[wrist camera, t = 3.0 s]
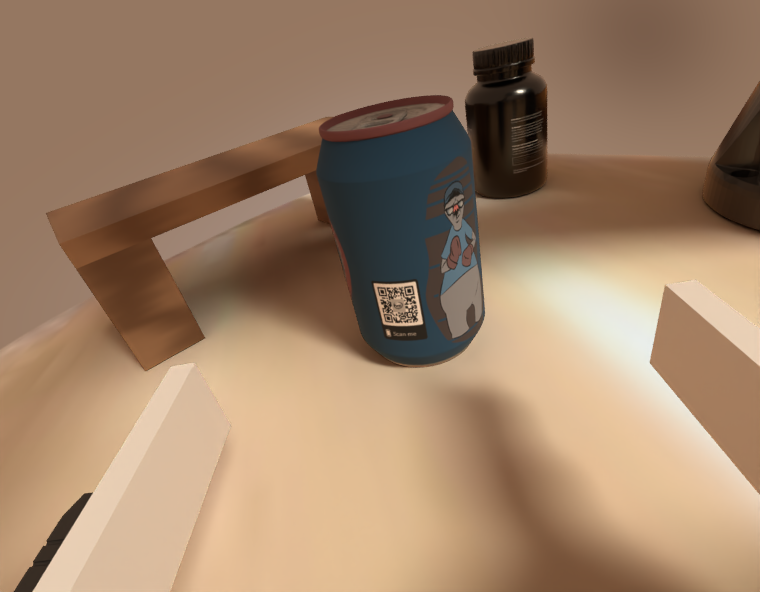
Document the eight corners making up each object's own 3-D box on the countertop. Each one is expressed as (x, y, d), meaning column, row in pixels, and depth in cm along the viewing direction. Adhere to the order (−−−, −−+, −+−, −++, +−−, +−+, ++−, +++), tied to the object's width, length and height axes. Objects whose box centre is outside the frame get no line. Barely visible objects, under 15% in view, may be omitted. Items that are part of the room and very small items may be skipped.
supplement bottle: (543, 170, 42) (545, 31, 35) (550, 195, 36) (553, 37, 30) (474, 178, 44) (463, 48, 37) (470, 203, 38) (457, 56, 32)
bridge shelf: (348, 205, 45) (326, 116, 40) (413, 221, 37) (396, 116, 33) (115, 317, 33) (45, 213, 29) (145, 371, 26) (59, 243, 21)
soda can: (381, 300, 28) (336, 108, 21) (489, 298, 25) (474, 83, 19) (349, 374, 22) (275, 145, 16) (482, 379, 20) (458, 116, 14)
